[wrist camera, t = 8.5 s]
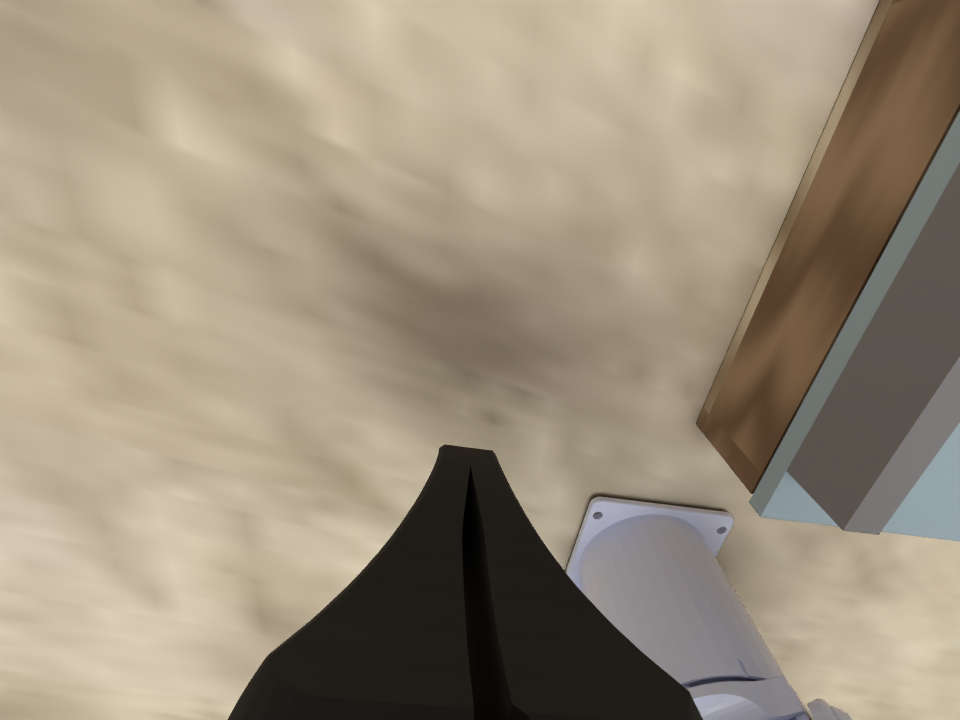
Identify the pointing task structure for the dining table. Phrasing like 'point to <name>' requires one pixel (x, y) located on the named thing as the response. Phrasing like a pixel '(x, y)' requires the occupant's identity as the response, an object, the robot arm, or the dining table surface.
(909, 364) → the lid
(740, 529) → the dining table surface
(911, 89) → the box
